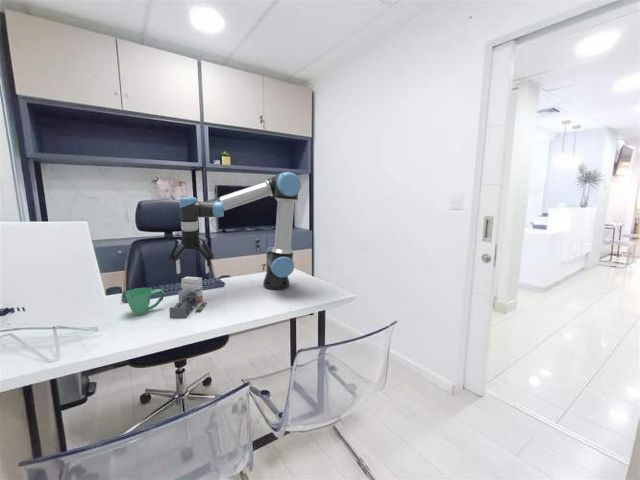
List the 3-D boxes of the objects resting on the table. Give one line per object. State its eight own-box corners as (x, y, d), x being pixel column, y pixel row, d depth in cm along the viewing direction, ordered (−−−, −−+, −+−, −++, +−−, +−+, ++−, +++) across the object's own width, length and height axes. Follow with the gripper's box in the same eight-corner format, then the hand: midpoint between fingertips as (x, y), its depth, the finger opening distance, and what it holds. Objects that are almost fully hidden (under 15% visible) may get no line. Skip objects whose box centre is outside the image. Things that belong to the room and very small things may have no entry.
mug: (128, 319, 125) (126, 297, 123) (126, 311, 133) (124, 290, 131) (166, 312, 134) (165, 291, 132) (162, 304, 142) (161, 284, 140)
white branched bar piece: (203, 305, 142) (203, 291, 141) (198, 312, 134) (197, 297, 133) (179, 304, 141) (179, 291, 140) (173, 312, 133) (172, 297, 132)
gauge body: (207, 302, 145) (207, 294, 145) (196, 318, 129) (196, 308, 128) (183, 302, 144) (183, 294, 144) (169, 318, 128) (169, 308, 127)
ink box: (203, 299, 149) (202, 277, 147) (198, 303, 144) (197, 280, 142) (186, 298, 150) (185, 275, 148) (181, 302, 145) (180, 279, 143)
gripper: (218, 228, 146) (221, 270, 150) (166, 228, 144) (169, 270, 148) (215, 231, 139) (217, 274, 143) (159, 231, 137) (163, 275, 141)
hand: (193, 272), depth 145 cm, fingers open, 13 cm apart
